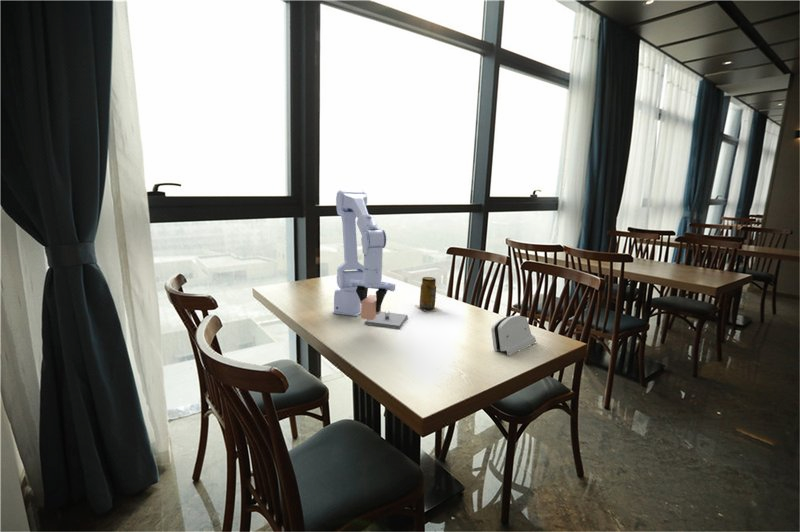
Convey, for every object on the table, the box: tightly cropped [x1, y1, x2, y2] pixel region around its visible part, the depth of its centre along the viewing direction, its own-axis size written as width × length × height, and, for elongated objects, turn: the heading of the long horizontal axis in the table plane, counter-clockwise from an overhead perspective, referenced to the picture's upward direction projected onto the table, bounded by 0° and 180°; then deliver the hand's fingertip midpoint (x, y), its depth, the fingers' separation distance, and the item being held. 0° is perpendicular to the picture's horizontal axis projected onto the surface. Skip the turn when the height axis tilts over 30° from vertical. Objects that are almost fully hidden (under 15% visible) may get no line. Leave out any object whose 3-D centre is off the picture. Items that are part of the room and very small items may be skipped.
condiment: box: [415, 276, 441, 313], centre depth 149 cm, size 7×8×12 cm
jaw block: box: [360, 294, 382, 320], centre depth 121 cm, size 4×8×6 cm, turn 166°
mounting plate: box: [364, 311, 408, 330], centre depth 133 cm, size 12×12×1 cm
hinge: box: [490, 315, 537, 356], centre depth 116 cm, size 17×5×10 cm, turn 133°
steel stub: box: [384, 310, 391, 319], centre depth 133 cm, size 2×2×2 cm
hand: (371, 310), depth 121 cm, fingers closed on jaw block, 4 cm apart
